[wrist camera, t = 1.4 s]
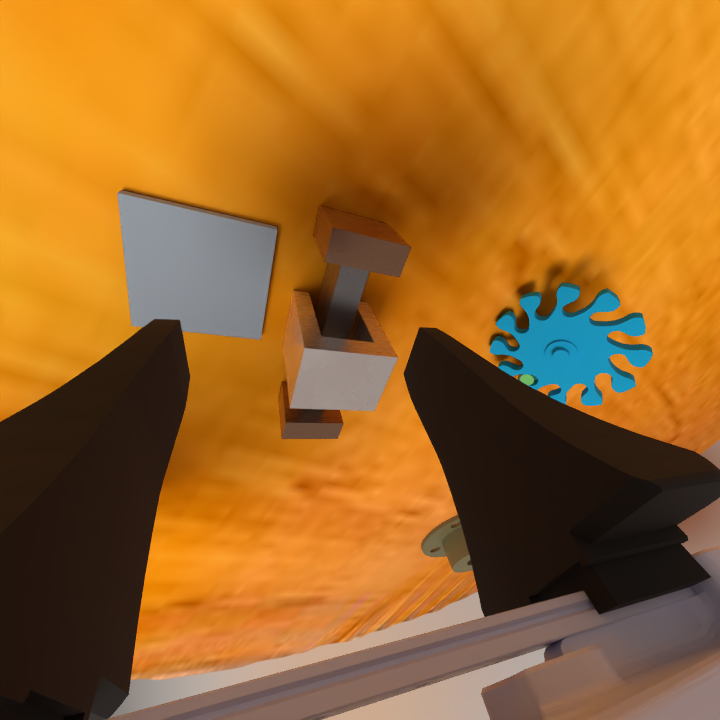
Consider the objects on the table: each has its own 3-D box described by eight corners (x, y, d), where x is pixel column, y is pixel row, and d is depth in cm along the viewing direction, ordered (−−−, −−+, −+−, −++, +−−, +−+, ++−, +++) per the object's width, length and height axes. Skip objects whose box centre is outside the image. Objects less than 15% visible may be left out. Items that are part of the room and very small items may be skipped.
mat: (260, 334, 21) (260, 339, 21) (134, 320, 19) (131, 325, 18) (276, 226, 17) (277, 229, 17) (121, 190, 15) (117, 192, 14)
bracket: (351, 350, 24) (374, 410, 19) (282, 342, 22) (289, 408, 17) (367, 302, 22) (398, 357, 17) (292, 289, 20) (304, 347, 15)
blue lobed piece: (538, 262, 21) (701, 340, 19) (547, 242, 25) (682, 303, 23) (460, 375, 29) (570, 442, 26) (477, 345, 33) (574, 400, 30)
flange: (530, 549, 53) (514, 524, 44) (449, 587, 55) (417, 571, 46) (513, 521, 57) (495, 492, 47) (437, 558, 59) (406, 537, 49)
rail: (328, 399, 27) (337, 438, 23) (278, 397, 25) (281, 438, 22) (386, 223, 19) (411, 246, 16) (319, 205, 17) (332, 227, 14)
